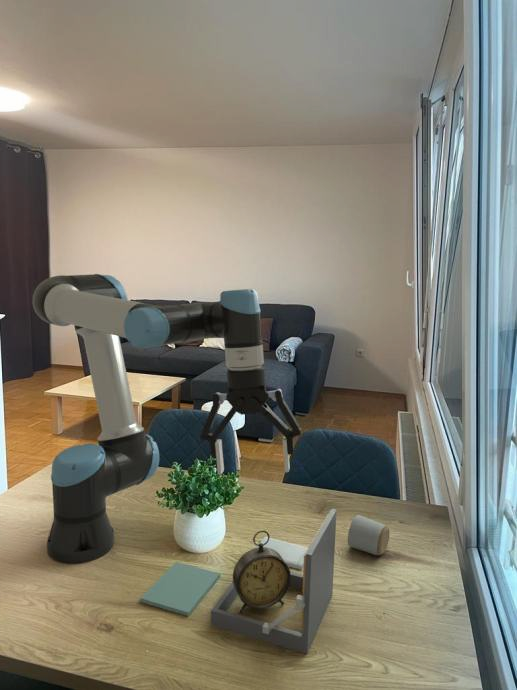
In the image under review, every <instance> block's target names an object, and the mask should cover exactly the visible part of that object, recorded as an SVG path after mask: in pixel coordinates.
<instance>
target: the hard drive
mask: <svg viewBox="0 0 517 690" xmlns="http://www.w3.org/2000/svg"><path fill="white" fill-rule="evenodd" d="M267 540H268V536H264V537H262V540H261V541H260V542H259V543H258V545H259V544H260V543H262V544H264V543H266V542H267ZM258 547H259V546H257V545H256V547H255V548H258ZM263 547H267V548H271V549H273V550H275V551H277V552H278V553H279V554H280V555H281V557H282V558H283V560H284V561H285V563H286V564H287V565H288V567H289V568H294V569H297V570H301V571H303V567H304V555H305V553H306V551H307V549H308V548H309V546H308V547H306V546H303V545H299V544H296V543H292V542H289V541H284V540H280V539H276V538H272V537H270V538H269V541H268V543H267V544H265V545H264V546H263Z"/></svg>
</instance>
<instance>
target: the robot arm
mask: <svg viewBox="0 0 517 690" xmlns="http://www.w3.org/2000/svg"><path fill="white" fill-rule="evenodd" d="M219 297H220V299H219V301H206V302H205V301H203V302H199V301H198V302H196V301H195V302H189V303H182V304H172V305H154V304H150V303H145V302H144V303H143V302H139V301H133V300H129V299H128V294H127V292H126V289H125V287H124V285H123V284H122V282H121V281H120V280H118V279H116V277H114V276H112V275H109V274H108V275H107V274H99V273H95V274H76V275H75V274H73V275H63V274H62V275H55V276H51V277H48V278H46V279H44V280H43V281H42V282H40V283H39V284H38V285H37V286H36V288H35V290H34V292H33V295H32V307H33V310H34V312H35V314H36V316H38V317H39V318H40V319H41V320H42V321H43V322H46V323H47V324H51V325H54V326H59V327H68V326H70V325H72V326H74V330H75V333H77V334H78V335H79V336H81V337H82V338H83V341H84V342H83V343H84V346H85V347H84V348H85V352H86V357H87V364H88V367H89V373H90V377H91V382H92V388H93V392H94V397H95V402H96V406H97V413H98V417H99V422H100V427H101V433H100V434H99V436H98V437H97V444H96V443H84V444H77V445H72V446H70V447H67V448H66V449H64V450H62V451H60V452H59V453H57V455H56V456H55V457H54V458H53V460H52V463H51V476H50V479H51V484H52V504H53V506H52V507H53V520H52V524H51V527H50V530H49V534H48V537H47V540H46V548H47V549H46V550H47V554H48V556H49V557H50V558H51V559H52V560H54V561H57V562H60V563H63V564H64V563H65V564H78V563H80V564H81V563H85V562H89V561H93V560H95V559H98V558H101V557H102V556H104V555H106V554H107V553H109V552H110V551H111V550H112V548H113V547H114V545H115V531H114V529H113V527H112V525H111V523H110V519H109V515H108V514H107V507H106V506H107V505H106V504H107V502H106V501H107V497H109V496H112V495H114V494H116V493H118V492H121V491H124V490H126V489H129V488H131V487H134V486H138V485H141V484H142V483H143V482H145V481H147V480H150V479H151V478H152V477H153V476H154V475H155V474H156V472H157V469H158V468H159V464H160V451H159V446H158V444H157V442H156V441H154V438H153V437H152V436H151V435H149V434H146V431H145V427H143V426H141V425H140V424H138V422H137V419H136V412H135V408H134V404H133V399H132V394H131V389H130V384H129V378H128V375H127V369H126V365H125V360H124V359H125V358H124V355H123V349H122V345H121V344H122V343H121V340H120V339H121V338H124V339H126V340H127V341H128V342H129V343H130V344H131V345H132V347H134V348H137V349H155V348H158V347H162V346H168V345H173V344H179V343H186V342H192V341H193V342H194V341H199V340H206V339H207V340H208V339H223V342H224V355H225V366H226V367H227V368H228V369H227V371H226V378H227V393H221V391H217V392H215V393H213V396H212V406H211V409H210V410H209V413H208V416H207V417H206V421H205V424H204V426H203V429H202V431H201V433H200V436H199V437H200V440H202V441H204V440H205V441H207V442H209V446H210V455H211V458H216V459H215V460H216V469H217V476H218V475H222V474H223V472H224V471H225V465H224V464H225V463H224V454H223V453H224V452H223V441H222V439H218V437H219V436H220V435H221V434H222V432H223V431H224V429H225V428H226V426H227V425H228V424H229V422H230V421H231V420H232V419H233V417H234V416H235V415H236V413H238V414H240V415H241V416H242V415H244V416H245V415H247V414H251V415H257V414H258V413H260V414H261V415H262V416H264V417H265V418H266V419H267V420H268V421H269V422H270V423H271V424H272V425H273V426H274V427H275V428H276V430H278V431H279V432H280V433H281V434H282V435H283V438H282V451H283V463H284V473H289V472H290V468H291V466H290V464H291V463H290V455H293V454H294V451H295V446H294V445H295V444H294V438H295V437H297V436H301V434H302V427H301V426H300V424H299V422H298V421H297V419H296V417H295V416H294V414H293V413H292V411H291V409H290V407H289V405H288V404H287V403H286V401H285V398H284V395H283V390H282V389H281V388H277V389H276V390H270V391H268V389H267V386H266V371H265V370H266V369H265V367H263V366H262V365H264V364H265V360H264V345H263V339H262V329H261V328H262V327H261V326H262V325H261V307H260V303H259V302H260V301H259V294H258V292H257V290H255V289H253V288H246V289H244V288H243V289H233V290H223V291H221V292H220V295H219ZM269 398H271V400H272V401H273V402H276V404H277V406H278V408H279V409H280V411H281V413H282V415H283V417H284V418H285V419H286V421H287V423H288V425H289V427H288V425H287V424H286V423H284V422H283V420H282V419H280V418H279V416H278V415H277V414H276V413H275V412H274V411H273V410H272V409H271V407H269V405H268V404H267V403H266V402H267V401H268V399H269ZM226 400H227V402H228V403H229V405H231V408H230V409H229V411H228V412H227V413H226V415H225V417H223V419H222V420H221V422H220V423H219V424H218V426H217V427H216V429H215V430H214V432H213V433H212V432H211V429H212V428H213V425H214V422H215V420H216V417H217V415H218V412H219V409H220V408H221V405H223V403H224V402H225V401H226Z"/></svg>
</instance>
